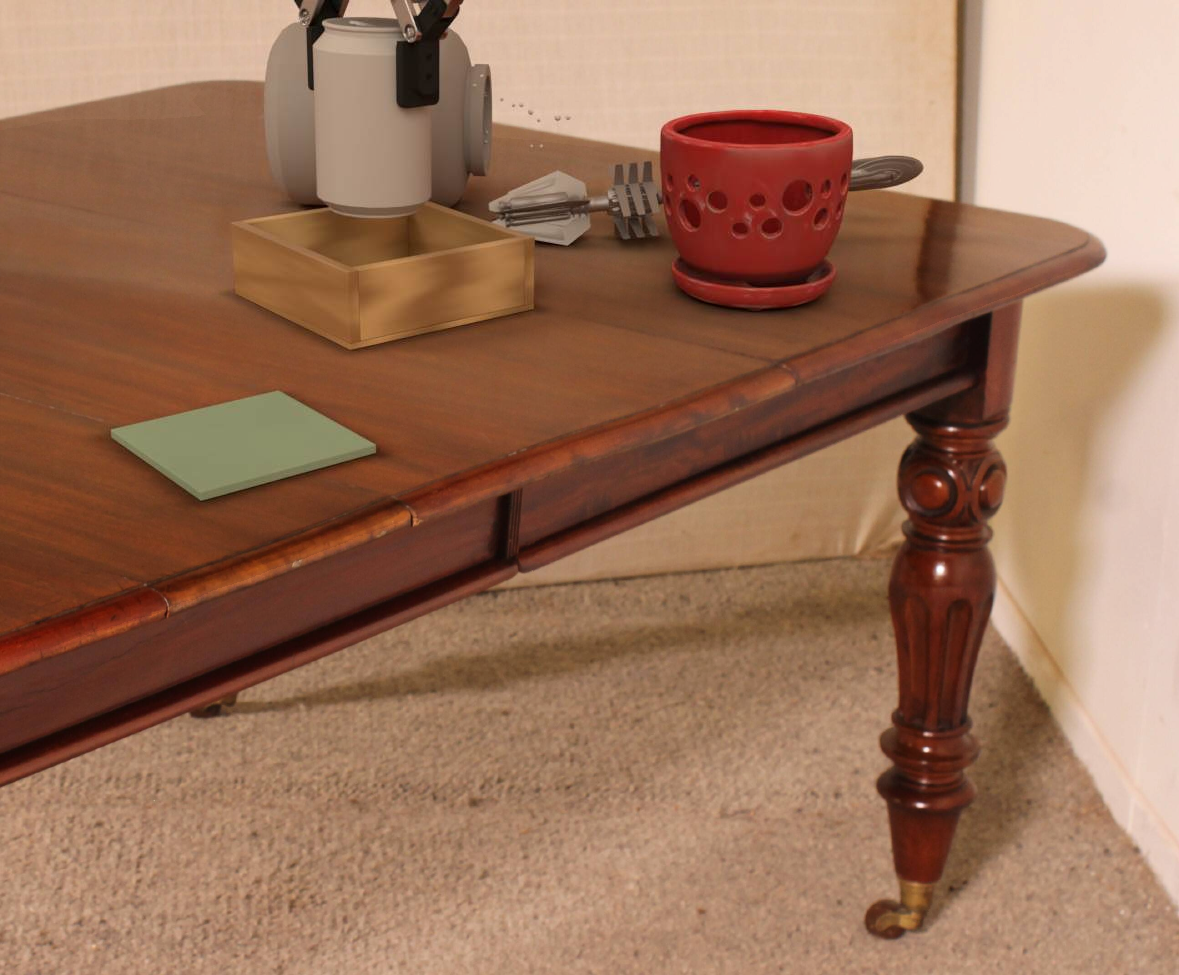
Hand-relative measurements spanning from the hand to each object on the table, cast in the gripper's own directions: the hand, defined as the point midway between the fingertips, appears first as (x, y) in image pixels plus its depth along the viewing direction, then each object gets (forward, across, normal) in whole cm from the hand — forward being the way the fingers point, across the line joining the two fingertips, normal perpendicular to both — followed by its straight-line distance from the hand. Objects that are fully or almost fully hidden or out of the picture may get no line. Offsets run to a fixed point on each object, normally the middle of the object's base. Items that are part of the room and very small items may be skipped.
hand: (372, 95), depth 96 cm
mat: (+14, +13, -22) cm, 29 cm away
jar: (+14, -18, +23) cm, 33 cm away
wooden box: (+14, 0, +1) cm, 14 cm away
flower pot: (+14, +17, +20) cm, 30 cm away
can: (+7, 0, 0) cm, 7 cm away
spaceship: (+13, +6, +30) cm, 34 cm away
